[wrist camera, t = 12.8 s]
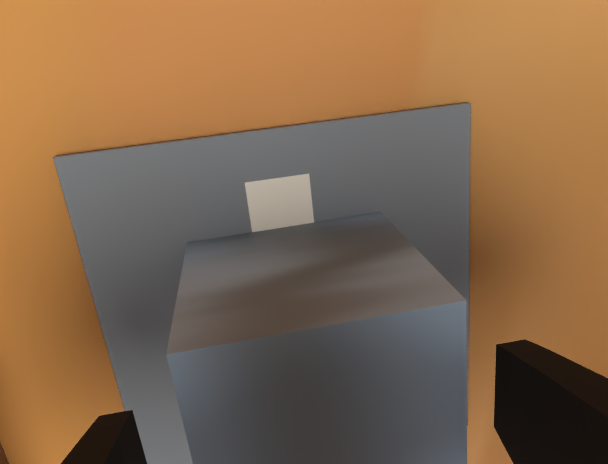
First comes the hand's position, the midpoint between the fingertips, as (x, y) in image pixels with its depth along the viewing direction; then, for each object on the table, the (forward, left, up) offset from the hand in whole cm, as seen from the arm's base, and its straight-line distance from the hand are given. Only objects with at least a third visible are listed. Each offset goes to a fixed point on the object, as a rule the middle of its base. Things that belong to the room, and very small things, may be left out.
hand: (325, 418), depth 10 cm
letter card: (0, 0, -4) cm, 4 cm away
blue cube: (0, 0, -4) cm, 4 cm away
